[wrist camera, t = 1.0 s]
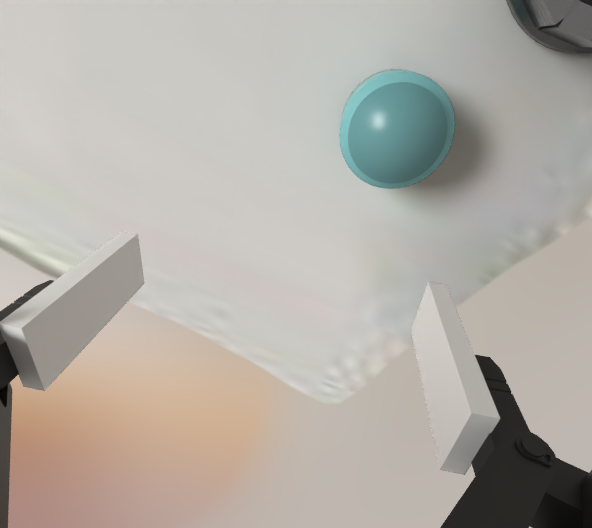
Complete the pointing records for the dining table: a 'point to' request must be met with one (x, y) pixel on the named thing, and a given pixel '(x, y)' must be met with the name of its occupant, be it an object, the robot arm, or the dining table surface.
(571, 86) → the dining table surface
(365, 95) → the cap
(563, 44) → the dark grey round bowl
